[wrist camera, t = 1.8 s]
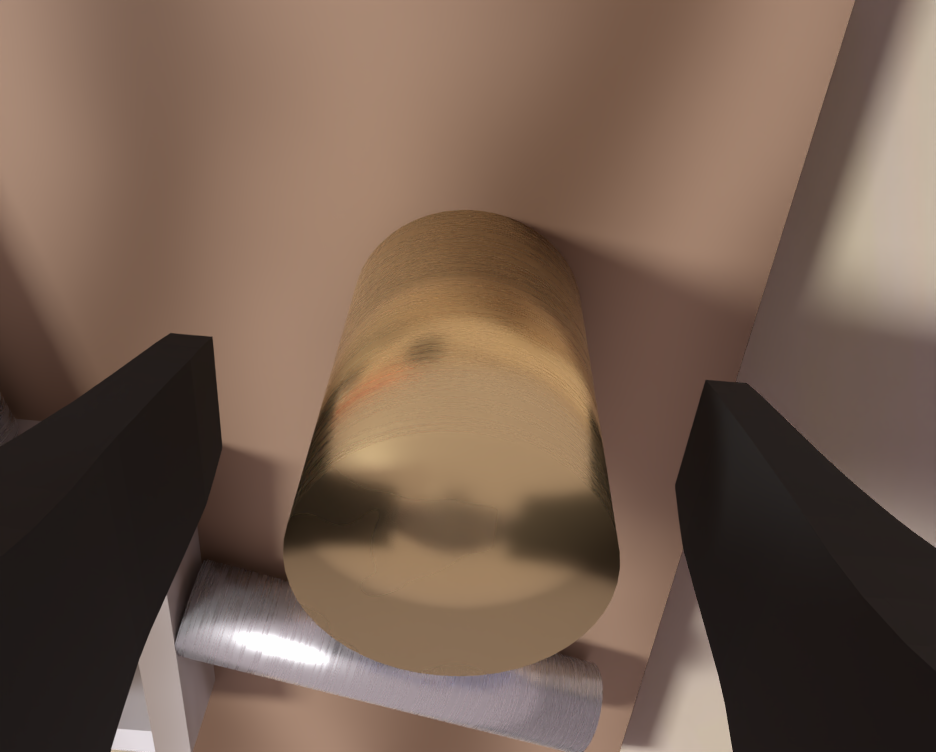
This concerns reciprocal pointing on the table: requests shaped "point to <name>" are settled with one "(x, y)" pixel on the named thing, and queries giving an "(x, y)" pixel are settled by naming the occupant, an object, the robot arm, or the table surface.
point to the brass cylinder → (457, 458)
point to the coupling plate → (367, 225)
